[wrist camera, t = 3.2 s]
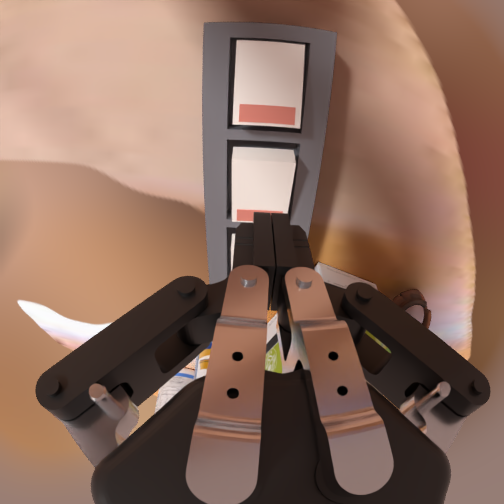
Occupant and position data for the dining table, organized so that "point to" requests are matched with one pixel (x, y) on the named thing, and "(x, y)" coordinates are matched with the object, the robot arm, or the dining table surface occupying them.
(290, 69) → the plate
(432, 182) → the dining table surface
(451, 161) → the dining table surface
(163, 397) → the supplement tub
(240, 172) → the rocker
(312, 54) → the strip housing
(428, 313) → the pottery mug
